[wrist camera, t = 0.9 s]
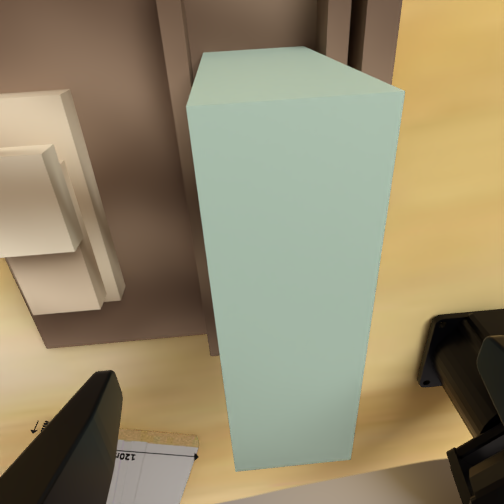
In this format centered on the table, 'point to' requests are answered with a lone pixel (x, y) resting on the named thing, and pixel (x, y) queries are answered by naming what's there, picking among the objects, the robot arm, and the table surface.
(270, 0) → the board rack
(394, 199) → the table surface
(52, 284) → the offcut stack
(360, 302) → the tall board
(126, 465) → the baseboard molding
